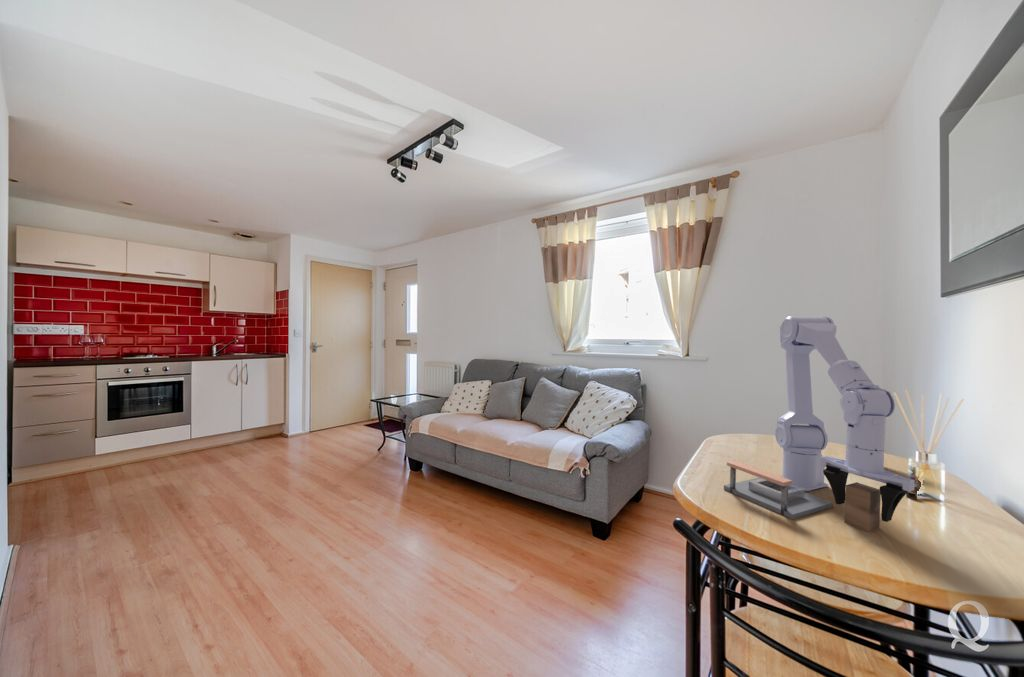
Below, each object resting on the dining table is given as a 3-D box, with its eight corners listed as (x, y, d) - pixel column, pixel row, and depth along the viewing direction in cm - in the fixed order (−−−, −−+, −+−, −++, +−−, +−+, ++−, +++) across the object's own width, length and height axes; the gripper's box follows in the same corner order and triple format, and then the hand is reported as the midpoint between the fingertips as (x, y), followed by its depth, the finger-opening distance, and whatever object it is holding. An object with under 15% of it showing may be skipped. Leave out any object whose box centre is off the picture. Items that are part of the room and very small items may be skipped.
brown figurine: (929, 490, 94) (927, 475, 93) (918, 509, 90) (916, 493, 89) (918, 487, 95) (917, 472, 94) (907, 505, 92) (905, 490, 91)
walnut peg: (855, 519, 80) (856, 482, 80) (879, 528, 76) (880, 489, 76) (844, 522, 78) (846, 485, 78) (868, 532, 75) (870, 492, 75)
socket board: (762, 480, 100) (763, 452, 100) (832, 506, 85) (834, 474, 85) (721, 489, 94) (721, 460, 94) (789, 520, 79) (790, 485, 79)
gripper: (813, 438, 82) (811, 499, 82) (902, 460, 69) (899, 533, 69) (831, 435, 85) (829, 494, 85) (921, 455, 72) (918, 525, 72)
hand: (862, 511), depth 77 cm, fingers open, 7 cm apart
